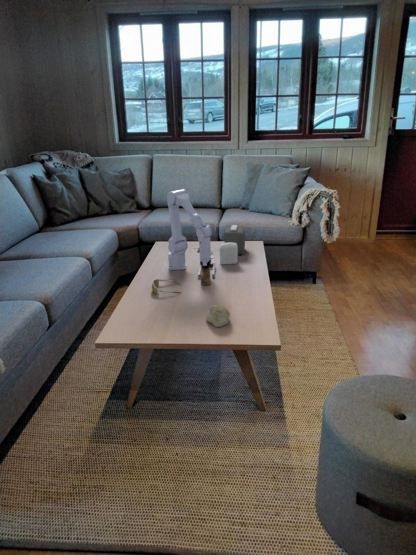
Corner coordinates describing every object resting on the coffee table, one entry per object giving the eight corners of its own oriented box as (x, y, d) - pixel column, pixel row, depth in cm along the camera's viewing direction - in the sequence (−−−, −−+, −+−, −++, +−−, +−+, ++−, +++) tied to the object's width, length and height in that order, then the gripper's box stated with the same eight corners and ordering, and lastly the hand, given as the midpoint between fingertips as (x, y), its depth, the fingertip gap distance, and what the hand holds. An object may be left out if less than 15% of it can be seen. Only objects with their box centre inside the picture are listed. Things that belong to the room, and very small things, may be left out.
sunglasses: (151, 285, 213) (152, 276, 212) (181, 287, 215) (181, 278, 213) (150, 297, 200) (151, 287, 199) (181, 298, 202) (182, 289, 200)
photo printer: (236, 261, 240) (236, 240, 235) (238, 263, 236) (238, 243, 232) (219, 262, 239) (218, 242, 234) (220, 265, 235) (220, 244, 230)
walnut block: (201, 285, 211) (200, 274, 208) (201, 279, 218) (201, 268, 216) (209, 285, 210) (209, 274, 208) (210, 278, 218) (209, 268, 215)
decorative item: (240, 314, 172) (221, 311, 166) (231, 332, 174) (213, 330, 168) (224, 300, 181) (206, 297, 175) (217, 317, 184) (199, 315, 177)
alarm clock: (227, 247, 264) (226, 223, 258) (245, 247, 263) (245, 223, 256) (224, 255, 249) (224, 231, 243) (243, 256, 248) (243, 231, 242)
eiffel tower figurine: (214, 255, 252) (213, 234, 247) (197, 257, 250) (196, 236, 245) (208, 247, 266) (207, 227, 261) (193, 249, 264) (191, 229, 259)
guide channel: (198, 278, 219) (198, 274, 219) (200, 266, 234) (199, 263, 233) (214, 277, 219) (214, 274, 218) (215, 266, 234) (215, 263, 233)
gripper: (212, 253, 206) (213, 278, 211) (213, 244, 219) (214, 268, 225) (198, 254, 207) (199, 279, 212) (200, 244, 220) (201, 268, 225)
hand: (206, 273), depth 218 cm, fingers closed
